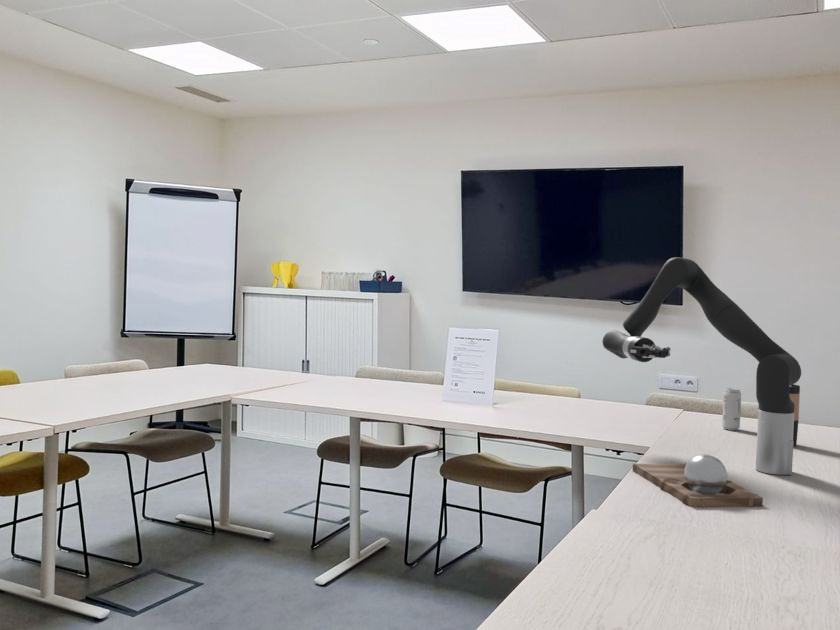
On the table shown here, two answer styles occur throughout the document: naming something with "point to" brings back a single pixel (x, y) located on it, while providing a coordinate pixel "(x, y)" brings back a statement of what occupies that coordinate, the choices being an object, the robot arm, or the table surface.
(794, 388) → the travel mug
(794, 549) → the table surface
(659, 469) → the wooden board
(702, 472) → the steel ball
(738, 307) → the robot arm
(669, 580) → the table surface
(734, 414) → the energy drink can
